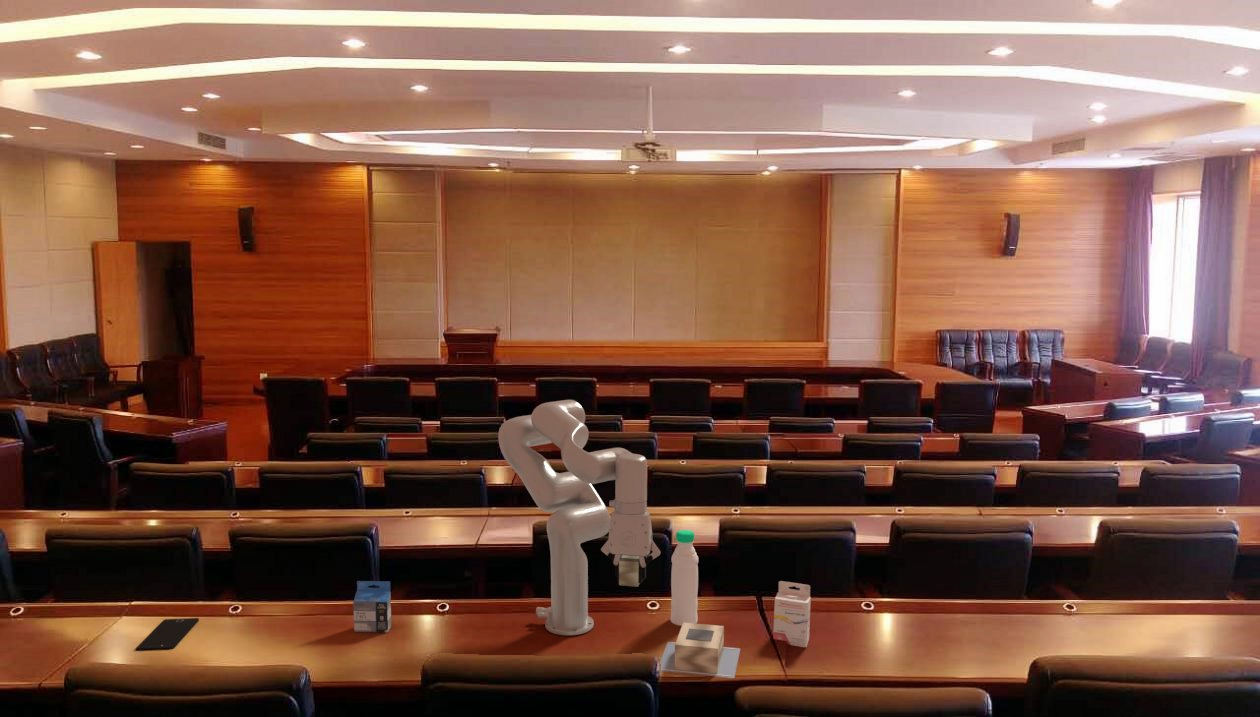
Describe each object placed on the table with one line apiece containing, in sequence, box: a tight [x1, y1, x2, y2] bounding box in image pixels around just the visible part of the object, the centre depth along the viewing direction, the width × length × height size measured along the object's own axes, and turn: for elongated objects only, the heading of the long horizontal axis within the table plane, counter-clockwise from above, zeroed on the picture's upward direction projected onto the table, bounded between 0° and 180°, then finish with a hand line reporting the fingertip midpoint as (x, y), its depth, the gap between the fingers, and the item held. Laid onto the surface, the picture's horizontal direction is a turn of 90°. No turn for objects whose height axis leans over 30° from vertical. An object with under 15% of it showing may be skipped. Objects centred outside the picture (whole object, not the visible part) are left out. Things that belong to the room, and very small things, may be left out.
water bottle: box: [670, 529, 699, 627], centre depth 242 cm, size 7×7×25 cm
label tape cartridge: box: [352, 580, 392, 633], centre depth 239 cm, size 9×4×12 cm, turn 90°
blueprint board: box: [659, 641, 741, 679], centre depth 221 cm, size 18×16×1 cm
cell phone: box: [135, 617, 200, 652], centre depth 236 cm, size 9×18×1 cm, turn 6°
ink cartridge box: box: [772, 580, 812, 648], centre depth 233 cm, size 9×5×15 cm, turn 71°
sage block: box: [618, 555, 641, 587], centre depth 222 cm, size 5×5×6 cm
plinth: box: [675, 622, 725, 673], centre depth 221 cm, size 10×13×6 cm
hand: (630, 579), depth 222 cm, fingers closed on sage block, 4 cm apart
